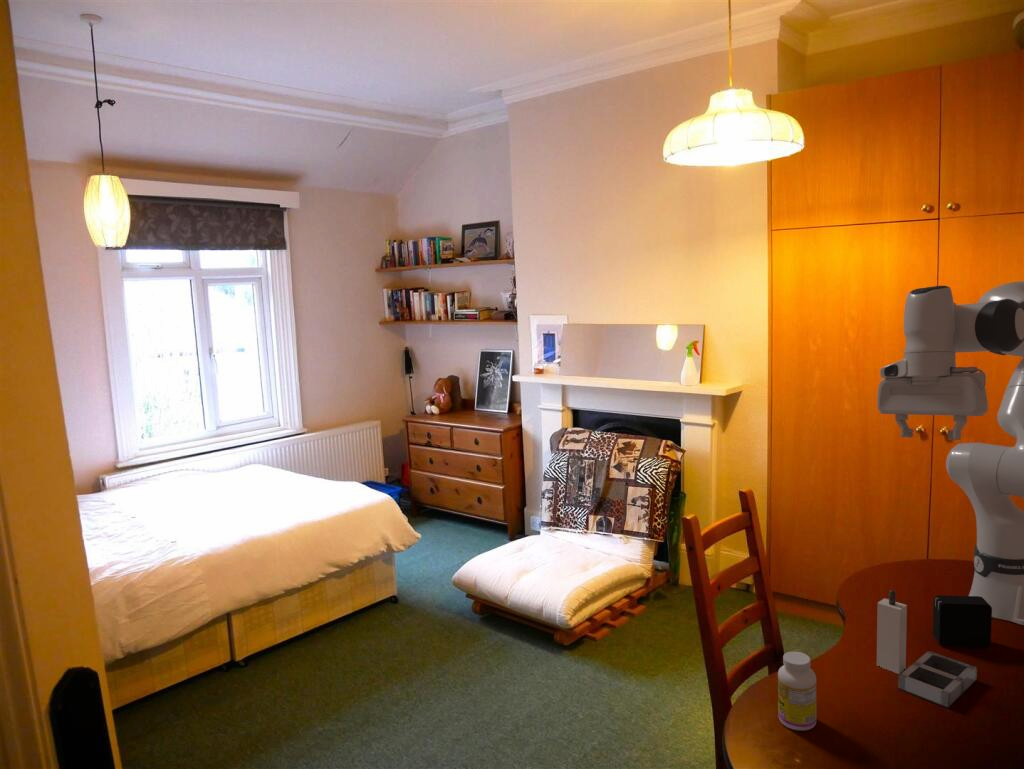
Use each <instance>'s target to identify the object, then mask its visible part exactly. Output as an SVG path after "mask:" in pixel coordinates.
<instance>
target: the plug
mask: <svg viewBox="0 0 1024 769" xmlns="http://www.w3.org/2000/svg"><path fill="white" fill-rule="evenodd" d="M896 596H897V595H896V590H893V589H890V590H889V592H888V598H886V597H884V598H883V599H881V600H879V601H878V602H877V610H876V611H877V612H876V614H877V616H876V617H877V619H876V620H877V621H876V622H877V624H876V625H877V626H876V666H877V667H878V666H880V667H879V668H881V667H882V668H881V669H884V670H886V669H887V671H890V672H891V671H892V673H894V674H897V675H900V674H901V673H903V672H904V671H905V670H906V669H907V667H906V664H907V663H906V662H907V660H906V659H907V619H908V617H907V616H908V613H907V612H908V610H907V609H908V605H907V604H904V603H900V602H897V601H896V600H897V598H896ZM904 669H905V670H904Z"/></svg>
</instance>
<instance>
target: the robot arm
mask: <svg viewBox="0 0 1024 769" xmlns="http://www.w3.org/2000/svg"><path fill="white" fill-rule="evenodd" d="M903 333H904V337H905V348H904V350H903V359H900V360H898V361H895V362H893V363H890V364H888V365H885V366H882V367H881V368H880V370H879V375H880V378H883V379H881V380H880V381H879V384H878V386H877V387H878V388H877V397H876V400H877V410H878V411H879V413H880V414H882V415H894V416H895V417H894V420H895V422H896V424H897V425H898V427H899V429H900V436H901V438H913V437H914V428H910V427H909V424H908V423H907V421H908V420H909V415H912V416H913V415H914V416H953V417H952V418H953V422H954V423H955V424H954V427H953V428H952V429H950V430H947V435H948V436H947V438H948V440H951V441H954V440H955V441H959V440H961V439H962V430H963V429H964V427H965V426H966V425H967V423H968V417H983V416H985V415H986V413H988V411H989V405H988V404H989V403H988V396H987V391H986V385H987V384H986V383H987V382H986V380H987V379H986V373H985V372H984V371H983V370H982V369H980V368H978V367H977V366H967V367H966V366H965V367H963V366H956V365H957V364H956V362H957V361H956V358H957V357H956V353H957V354H958V353H975V352H976V353H979V352H989V353H992V354H996V355H999V356H1000V355H1001V356H1007V355H1008V356H1014V357H1021V358H1022V359H1021V360H1020V361H1019V363H1018V364H1017V366H1016V367H1015V369H1014V371H1013V373H1012V375H1011V376H1010V379H1009V381H1008V384H1007V386H1006V388H1005V391H1004V394H1003V397H1002V399H1001V402H1000V406H999V409H998V412H997V416H996V420H997V424H998V426H999V427H1000V428H1001V429H1002V430H1003V431H1004V432H1005V433H1007V434H1008V435H1010V436H1011V437H1013V438H1014V439H1016V442H1015V444H1014V445H1013V446H1008V445H1007V446H1006V445H1005V446H1004V445H1001V444H1000V445H999V444H991V443H986V442H964V443H958V444H956V445H955V446H954V447H952V448H951V450H950V451H949V452H948V453H947V456H946V460H945V468H946V471H947V474H948V476H949V478H950V479H951V481H953V483H955V484H957V485H958V487H960V488H961V489H962V491H963V493H964V494H965V495H966V496H967V497H968V500H969V501H970V503H971V505H972V508H973V510H974V514H975V519H976V545H975V546H974V551H973V552H974V553H973V567H974V574H973V579H972V584H971V587H970V591H969V594H968V596H980V597H982V598H983V599H984V600H985V601H986V602H987V603H988V604H989V605H990V606H991V607H992V618H994V619H998V620H1004V621H1008V622H1013V623H1016V624H1018V625H1021V626H1024V510H1023V509H1021V508H1019V507H1018V506H1017V505H1016V504H1015V503H1014V501H1012V499H1011V497H1010V496H1012V497H1018V498H1023V499H1024V280H1023V281H1022V280H1021V281H1013V282H1007V283H1005V284H1001V285H998V286H996V287H993V288H992V289H989V290H988V291H986V292H985V293H984V294H983V295H982V296H981V297H980V298H979V300H978V301H977V302H975V303H965V304H957V303H955V302H954V297H953V293H952V288H951V287H950V286H947V285H934V286H927V287H919V288H915V289H912V290H911V291H909V292H908V293H907V295H906V299H905V305H904V314H903Z"/></svg>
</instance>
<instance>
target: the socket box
mask: <svg viewBox="0 0 1024 769" xmlns="http://www.w3.org/2000/svg"><path fill="white" fill-rule="evenodd" d="M977 673H978V667H977V666H973V665H971V664H969V663H966V662H962V661H959V660H957V659H954V658H951V657H948V656H945V655H943V654H940V653H936V652H934V651H931V650H928V651H926V653H924V654H923V655H922V656H920V657H919V658H918V659H917V660H916V661H915V662H913V663H912V664H911V665H909V667H906V669H905V670H903V671H902V672H901V673H900V674H898V680H897V681H898V682H897V683H898V686H897V687H898V690H900V691H903V692H905V693H908V694H911V695H912V696H915V697H918V698H921V699H922V700H926V701H928V702H931V703H933V704H935V705H938V706H941V707H943V708H946V709H949V708H950V707H951V706H952V705H953V704H954V703H955V702H956V701H957V700H958V699H959V698H960V697H961V696H962V695H963V694H964V693H965V692H966V691H967V690H968V689H969V688H970V687H972V686H973V684H974V683H976V681H977V680H978V679H977V678H978V677H977V676H978V674H977Z"/></svg>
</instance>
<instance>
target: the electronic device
mask: <svg viewBox="0 0 1024 769" xmlns="http://www.w3.org/2000/svg"><path fill="white" fill-rule="evenodd" d="M932 612H933V613H932V636H933V637H934V639H935V640H936V642H937V643H938V644H939V645H940V646H941V647H942V646H944V647H943V648H958V647H962V649H963V648H964V649H985V650H986V649H989V648H990V647H991V642H992V641H991V640H992V619H993V617H992V607H991V606H990V605H989V604H988V603H987V602H986V601H985V600H984V599H983V598H982V597H980V596H969V595H946V594H945V595H939V594H938V595H935V596H934V597H933V609H932ZM945 646H946V647H945Z"/></svg>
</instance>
